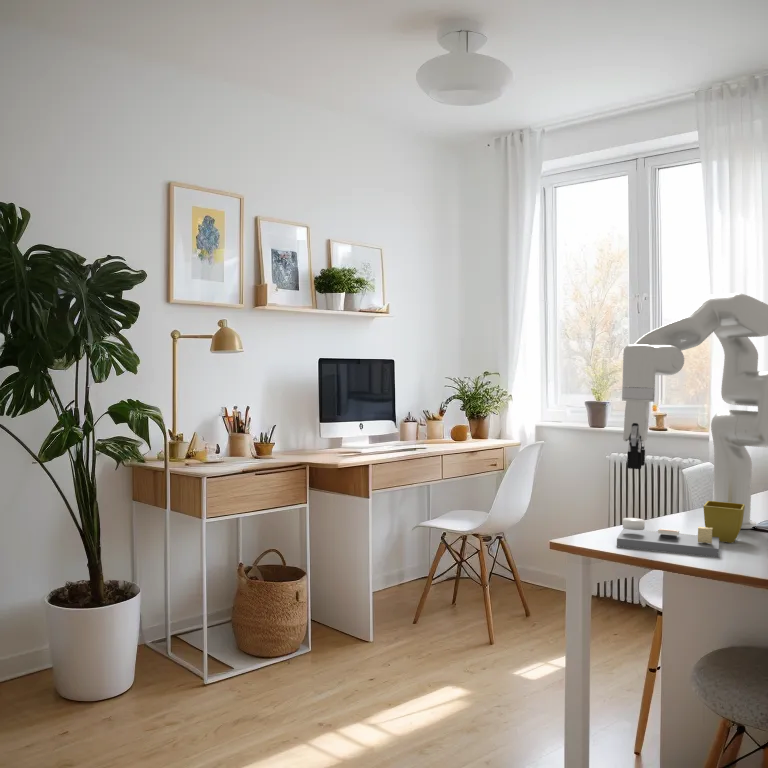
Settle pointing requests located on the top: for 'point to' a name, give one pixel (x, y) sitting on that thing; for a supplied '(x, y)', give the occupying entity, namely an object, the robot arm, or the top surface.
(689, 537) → the switch panel
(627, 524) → the push button
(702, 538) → the cream small block
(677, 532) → the rocker
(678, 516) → the top surface
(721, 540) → the flower pot
